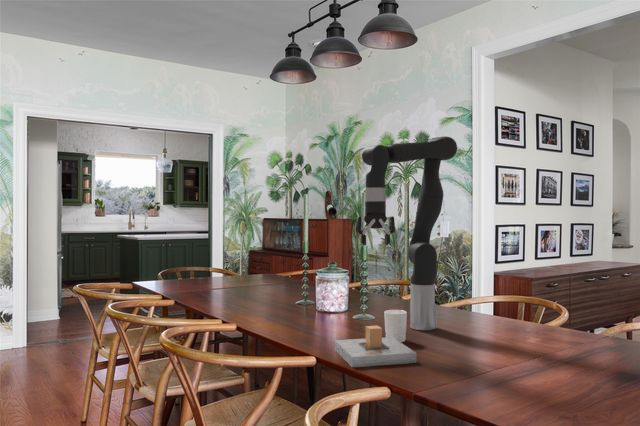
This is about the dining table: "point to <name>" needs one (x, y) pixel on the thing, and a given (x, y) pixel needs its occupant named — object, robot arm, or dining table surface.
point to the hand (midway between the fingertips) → (375, 245)
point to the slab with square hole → (374, 352)
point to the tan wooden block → (373, 337)
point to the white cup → (395, 324)
